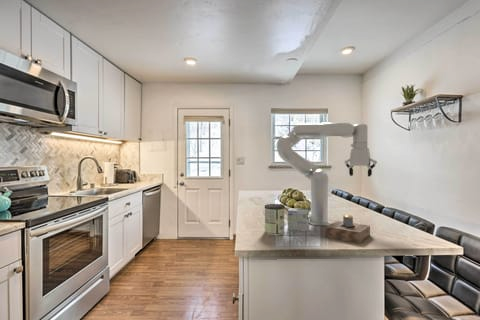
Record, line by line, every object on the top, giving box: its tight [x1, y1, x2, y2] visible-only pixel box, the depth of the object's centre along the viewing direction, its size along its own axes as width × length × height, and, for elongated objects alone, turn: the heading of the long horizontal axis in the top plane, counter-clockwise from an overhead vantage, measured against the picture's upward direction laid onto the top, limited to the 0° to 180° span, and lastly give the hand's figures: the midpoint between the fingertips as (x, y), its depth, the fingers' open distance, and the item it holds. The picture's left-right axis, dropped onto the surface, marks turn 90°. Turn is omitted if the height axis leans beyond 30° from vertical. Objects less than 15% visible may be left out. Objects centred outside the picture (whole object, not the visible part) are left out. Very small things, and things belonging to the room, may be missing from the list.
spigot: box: [342, 214, 354, 228], centre depth 130 cm, size 4×4×9 cm
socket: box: [324, 220, 371, 244], centre depth 130 cm, size 16×16×5 cm
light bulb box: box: [287, 207, 310, 232], centre depth 144 cm, size 11×7×11 cm, turn 71°
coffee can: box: [264, 203, 286, 236], centre depth 137 cm, size 10×10×14 cm
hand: (360, 175), depth 151 cm, fingers open, 9 cm apart
